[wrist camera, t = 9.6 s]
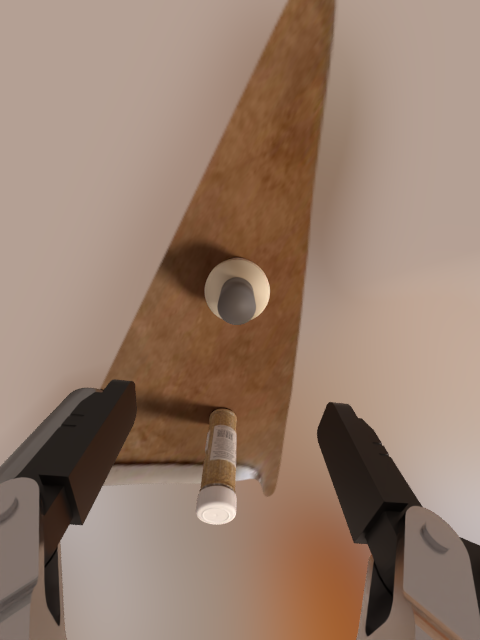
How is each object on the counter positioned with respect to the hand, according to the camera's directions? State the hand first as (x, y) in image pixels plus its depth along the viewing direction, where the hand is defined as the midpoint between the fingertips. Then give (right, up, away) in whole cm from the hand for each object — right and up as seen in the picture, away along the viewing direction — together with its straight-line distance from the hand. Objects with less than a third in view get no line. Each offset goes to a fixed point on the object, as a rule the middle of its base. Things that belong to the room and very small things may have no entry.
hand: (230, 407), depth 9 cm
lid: (0, +7, +15) cm, 16 cm away
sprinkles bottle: (-2, -12, +28) cm, 31 cm away
